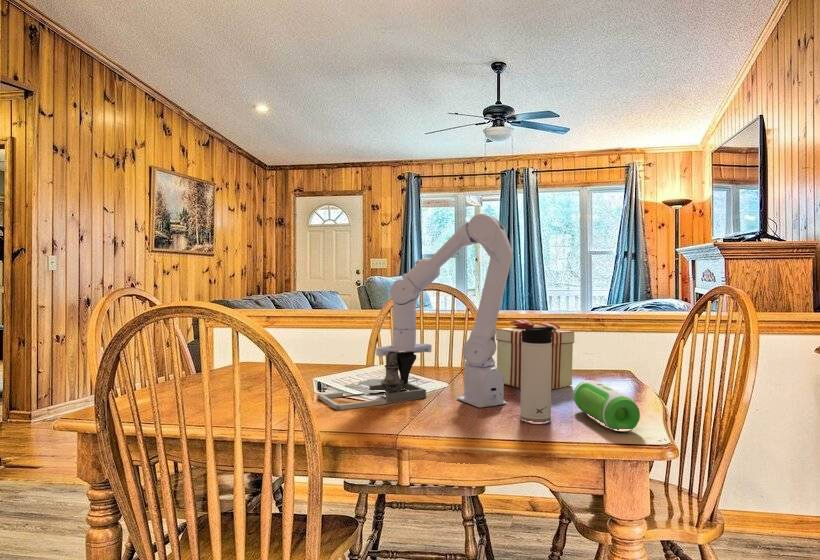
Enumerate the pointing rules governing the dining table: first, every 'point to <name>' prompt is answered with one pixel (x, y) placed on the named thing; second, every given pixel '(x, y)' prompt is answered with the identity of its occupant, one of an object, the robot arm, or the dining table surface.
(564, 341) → the gift box
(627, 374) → the dining table surface
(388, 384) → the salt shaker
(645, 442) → the dining table surface
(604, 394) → the speaker
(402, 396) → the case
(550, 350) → the travel mug
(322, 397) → the gray square frame
